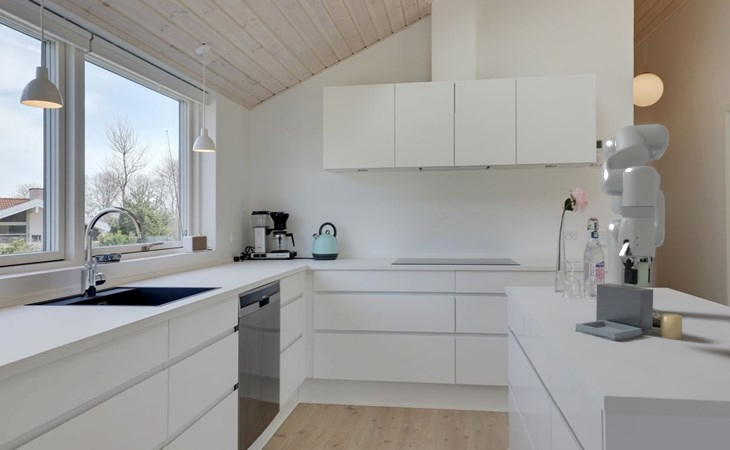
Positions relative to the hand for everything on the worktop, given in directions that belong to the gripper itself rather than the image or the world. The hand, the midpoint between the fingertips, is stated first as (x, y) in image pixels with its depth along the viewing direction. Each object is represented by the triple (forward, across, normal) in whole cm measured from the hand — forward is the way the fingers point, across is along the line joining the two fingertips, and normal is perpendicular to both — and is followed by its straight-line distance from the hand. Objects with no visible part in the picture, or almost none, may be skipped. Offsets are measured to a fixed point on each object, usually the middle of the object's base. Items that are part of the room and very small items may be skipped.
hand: (637, 282), depth 120 cm
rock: (+16, -22, -8) cm, 29 cm away
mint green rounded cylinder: (+1, 0, 0) cm, 1 cm away
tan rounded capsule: (+15, -11, +3) cm, 19 cm away
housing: (+15, -9, -9) cm, 20 cm away
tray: (+15, +1, -7) cm, 17 cm away
